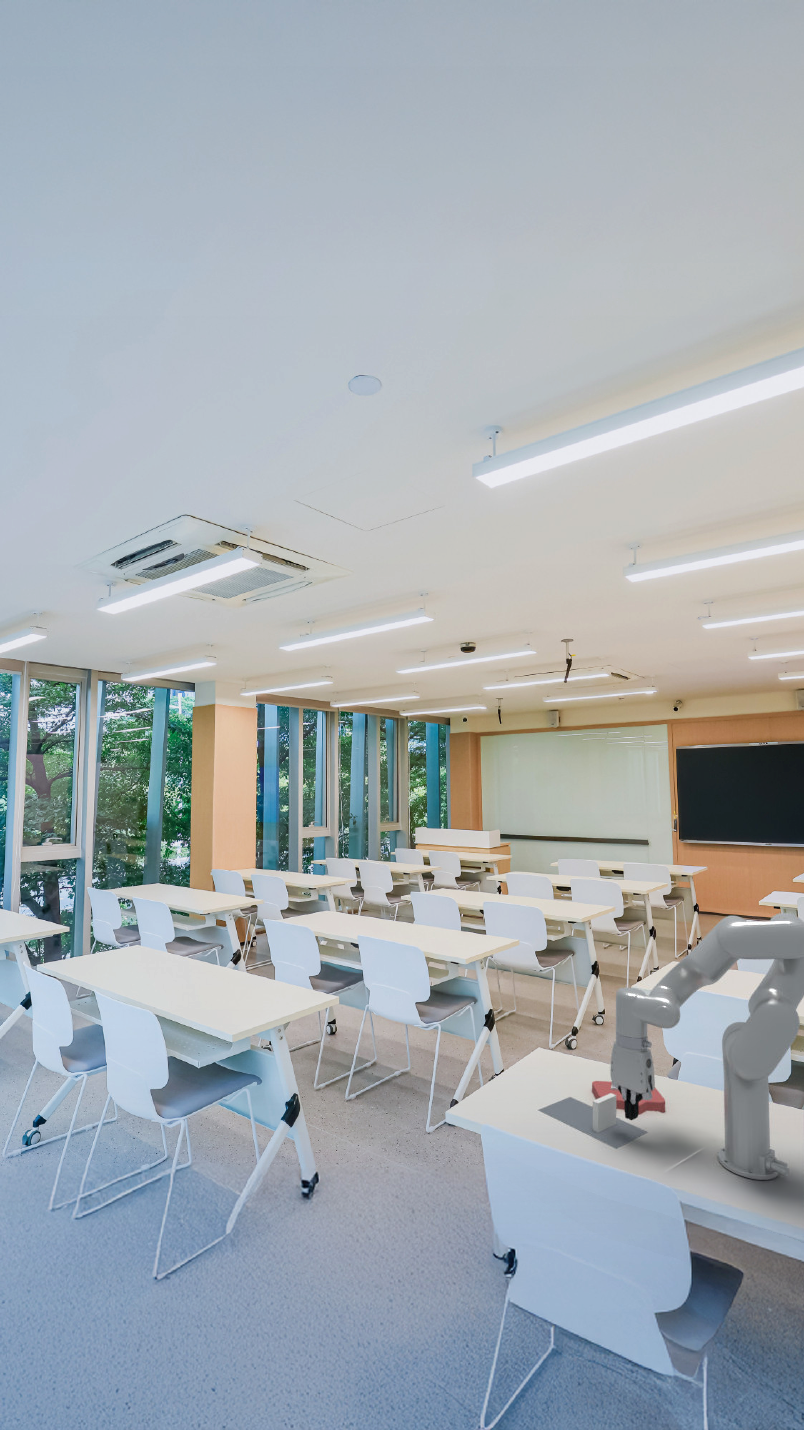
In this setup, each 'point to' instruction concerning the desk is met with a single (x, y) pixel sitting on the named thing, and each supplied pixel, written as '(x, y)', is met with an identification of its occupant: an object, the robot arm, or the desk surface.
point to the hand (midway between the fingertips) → (631, 1117)
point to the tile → (604, 1112)
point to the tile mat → (582, 1120)
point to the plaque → (606, 1088)
